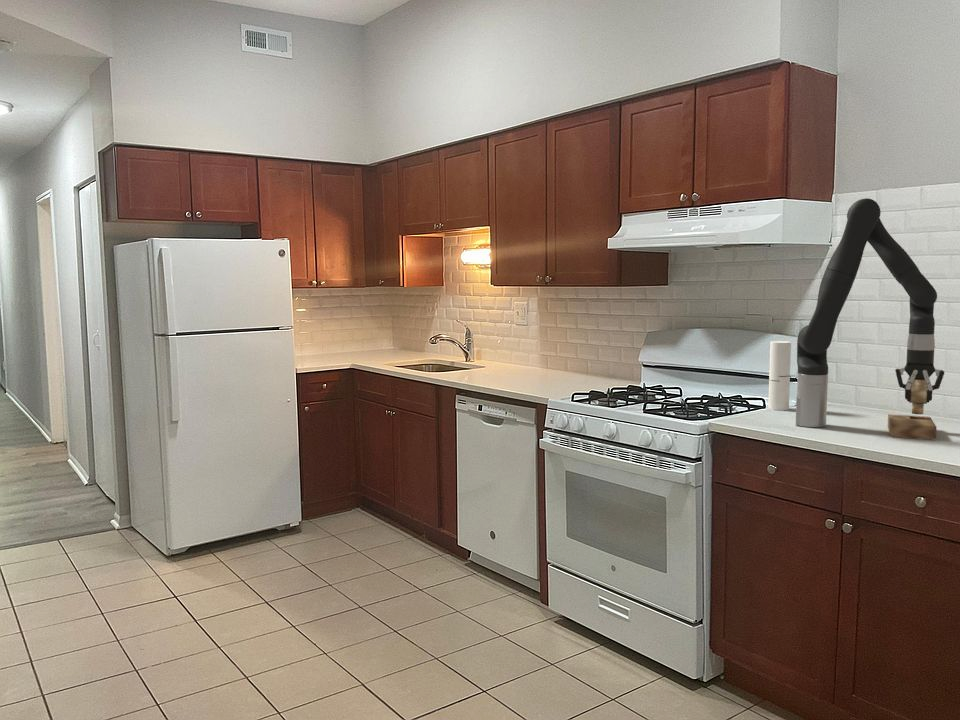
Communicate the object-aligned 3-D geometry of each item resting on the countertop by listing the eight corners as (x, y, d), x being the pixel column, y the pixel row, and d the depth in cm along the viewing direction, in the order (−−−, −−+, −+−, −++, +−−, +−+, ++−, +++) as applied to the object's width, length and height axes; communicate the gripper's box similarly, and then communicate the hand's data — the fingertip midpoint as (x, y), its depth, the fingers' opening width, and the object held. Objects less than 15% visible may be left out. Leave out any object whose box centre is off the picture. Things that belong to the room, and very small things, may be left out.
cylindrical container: (790, 410, 288) (792, 342, 286) (769, 410, 290) (772, 342, 287) (786, 407, 295) (789, 341, 293) (766, 406, 297) (769, 341, 294)
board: (890, 436, 241) (891, 423, 241) (887, 426, 257) (888, 414, 257) (935, 439, 236) (936, 426, 236) (929, 429, 252) (930, 416, 252)
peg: (909, 414, 249) (910, 379, 247) (907, 411, 253) (909, 378, 252) (927, 415, 247) (929, 380, 245) (925, 412, 251) (927, 378, 250)
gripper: (945, 347, 248) (942, 401, 250) (894, 346, 254) (891, 398, 256) (948, 350, 241) (945, 404, 243) (895, 348, 247) (893, 402, 249)
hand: (918, 401), depth 249 cm, fingers closed on peg, 4 cm apart
